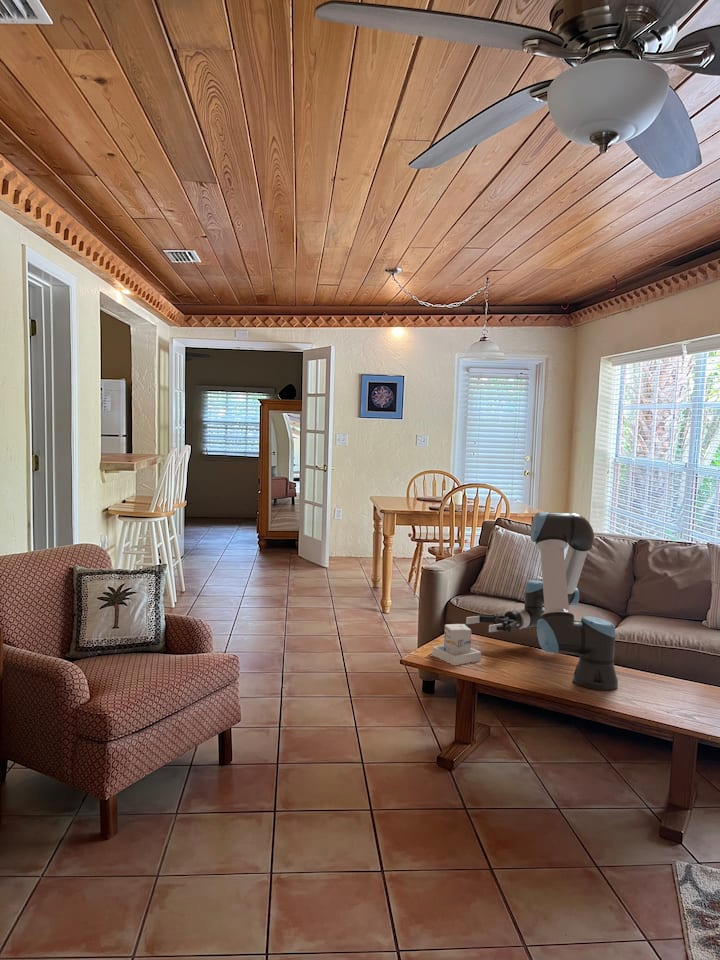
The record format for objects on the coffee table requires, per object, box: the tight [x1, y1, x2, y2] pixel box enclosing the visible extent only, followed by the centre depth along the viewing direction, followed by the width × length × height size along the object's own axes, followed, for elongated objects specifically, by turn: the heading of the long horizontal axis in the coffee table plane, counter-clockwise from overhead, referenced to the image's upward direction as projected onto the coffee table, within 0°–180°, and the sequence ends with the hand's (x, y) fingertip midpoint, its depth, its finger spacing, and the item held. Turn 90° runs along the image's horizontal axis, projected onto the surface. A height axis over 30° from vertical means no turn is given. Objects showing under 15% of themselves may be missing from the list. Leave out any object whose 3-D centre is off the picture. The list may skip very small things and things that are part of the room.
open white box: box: [432, 644, 482, 666], centre depth 259 cm, size 13×14×4 cm
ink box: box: [443, 623, 472, 656], centre depth 259 cm, size 9×8×12 cm
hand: (477, 624), depth 264 cm, fingers open, 13 cm apart
